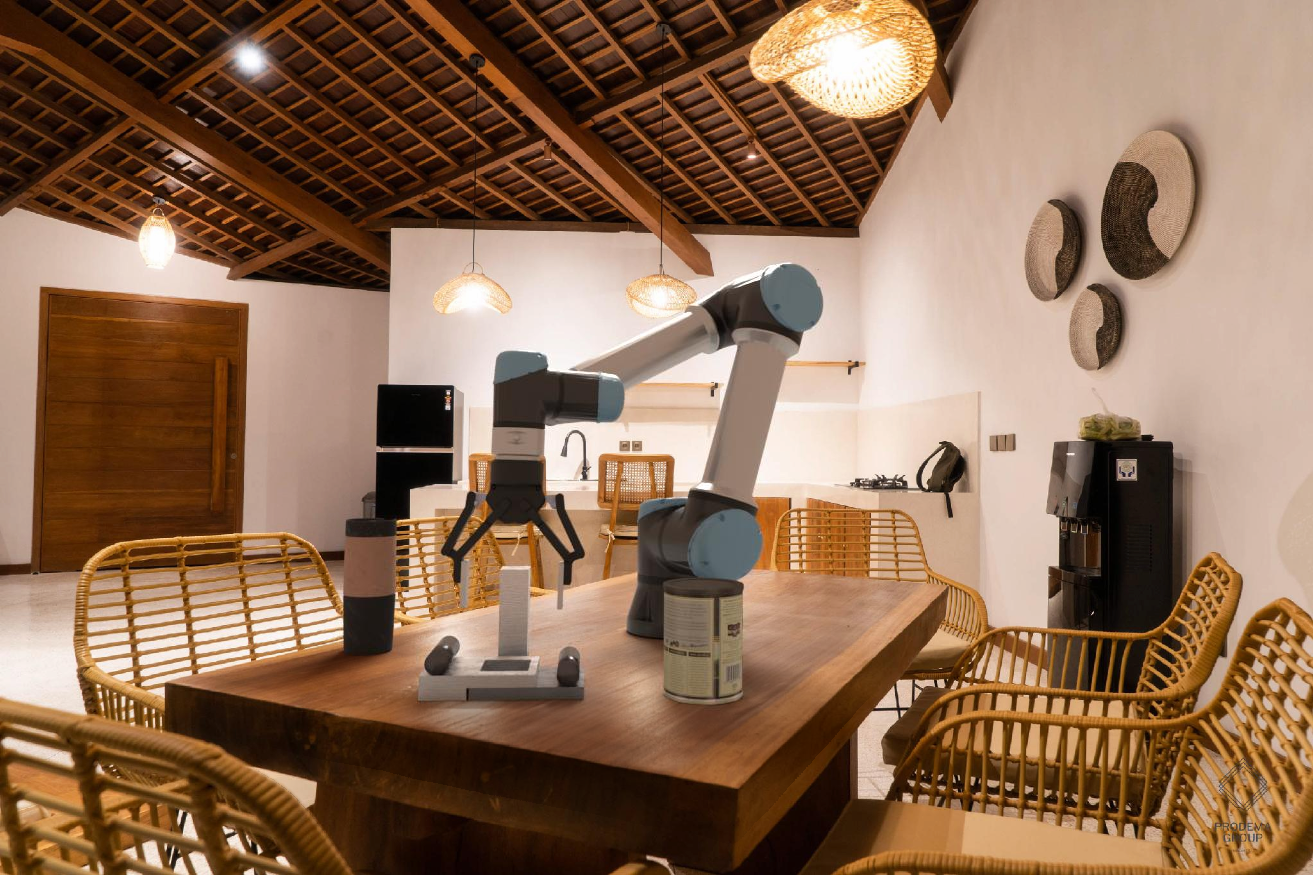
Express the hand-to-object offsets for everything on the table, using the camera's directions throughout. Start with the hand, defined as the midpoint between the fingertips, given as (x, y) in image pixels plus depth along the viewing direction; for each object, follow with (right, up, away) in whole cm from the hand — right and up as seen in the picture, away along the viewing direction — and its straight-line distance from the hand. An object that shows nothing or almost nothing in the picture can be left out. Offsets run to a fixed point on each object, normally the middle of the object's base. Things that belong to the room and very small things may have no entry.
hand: (512, 607), depth 118 cm
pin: (0, -8, 0) cm, 8 cm away
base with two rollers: (+1, -8, -12) cm, 14 cm away
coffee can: (+26, -9, -13) cm, 31 cm away
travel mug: (-24, -9, +9) cm, 27 cm away
